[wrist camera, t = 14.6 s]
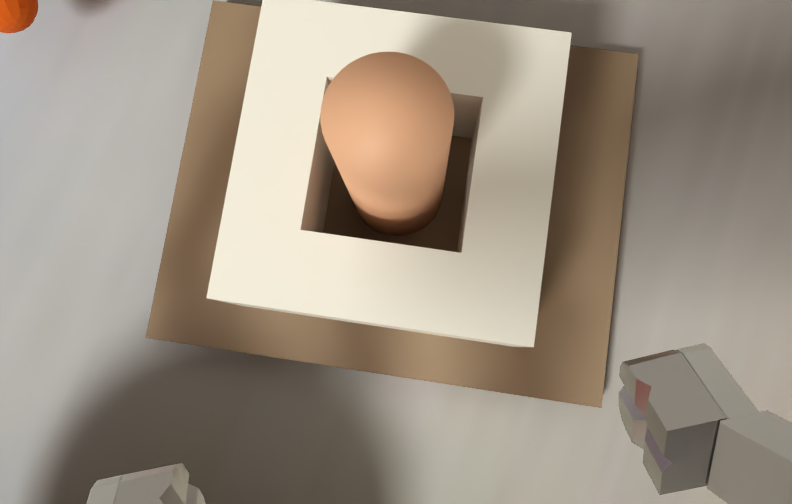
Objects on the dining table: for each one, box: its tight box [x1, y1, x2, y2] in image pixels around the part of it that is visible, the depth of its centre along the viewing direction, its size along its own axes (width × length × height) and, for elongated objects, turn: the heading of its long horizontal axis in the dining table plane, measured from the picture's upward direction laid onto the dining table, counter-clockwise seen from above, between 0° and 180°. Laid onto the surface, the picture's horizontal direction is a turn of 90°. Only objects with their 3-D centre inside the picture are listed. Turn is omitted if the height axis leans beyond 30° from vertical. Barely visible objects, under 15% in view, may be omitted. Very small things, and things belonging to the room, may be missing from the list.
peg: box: [320, 52, 454, 236], centre depth 24 cm, size 4×4×10 cm
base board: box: [146, 1, 639, 408], centre depth 30 cm, size 20×16×1 cm
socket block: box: [206, 0, 572, 347], centre depth 27 cm, size 12×12×5 cm
